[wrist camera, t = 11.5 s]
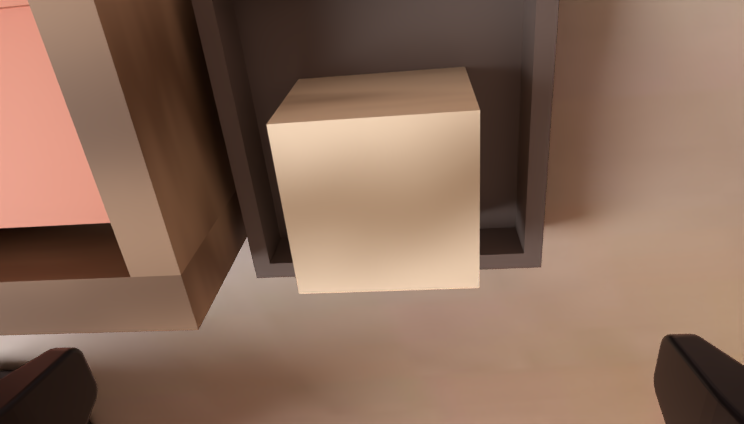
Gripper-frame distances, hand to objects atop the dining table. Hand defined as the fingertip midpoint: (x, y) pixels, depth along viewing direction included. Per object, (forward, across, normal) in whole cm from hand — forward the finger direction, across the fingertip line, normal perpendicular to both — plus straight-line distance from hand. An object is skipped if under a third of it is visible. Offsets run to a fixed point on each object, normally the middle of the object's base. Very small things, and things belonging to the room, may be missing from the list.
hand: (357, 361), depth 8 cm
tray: (+12, 0, 0) cm, 12 cm away
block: (+12, 0, +1) cm, 12 cm away
